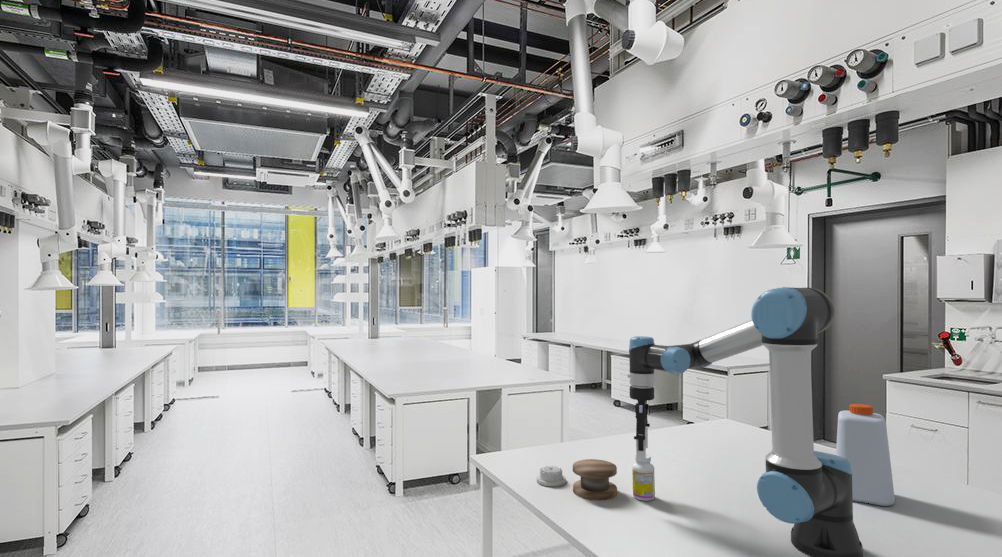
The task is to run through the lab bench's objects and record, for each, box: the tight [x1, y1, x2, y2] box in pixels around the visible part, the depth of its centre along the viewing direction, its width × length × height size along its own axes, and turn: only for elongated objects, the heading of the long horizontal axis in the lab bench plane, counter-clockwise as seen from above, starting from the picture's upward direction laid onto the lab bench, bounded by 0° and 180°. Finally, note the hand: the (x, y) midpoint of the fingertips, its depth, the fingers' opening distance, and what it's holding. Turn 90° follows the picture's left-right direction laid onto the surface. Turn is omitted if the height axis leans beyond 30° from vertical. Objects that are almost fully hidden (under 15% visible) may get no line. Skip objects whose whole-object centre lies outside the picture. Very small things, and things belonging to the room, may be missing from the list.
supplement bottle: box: [631, 453, 656, 502], centre depth 160 cm, size 7×7×13 cm
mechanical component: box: [536, 465, 567, 487], centre depth 174 cm, size 10×4×10 cm
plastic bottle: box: [835, 403, 896, 507], centre depth 160 cm, size 15×15×28 cm
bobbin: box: [572, 458, 618, 501], centre depth 165 cm, size 14×14×8 cm
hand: (642, 454), depth 160 cm, fingers open, 13 cm apart
